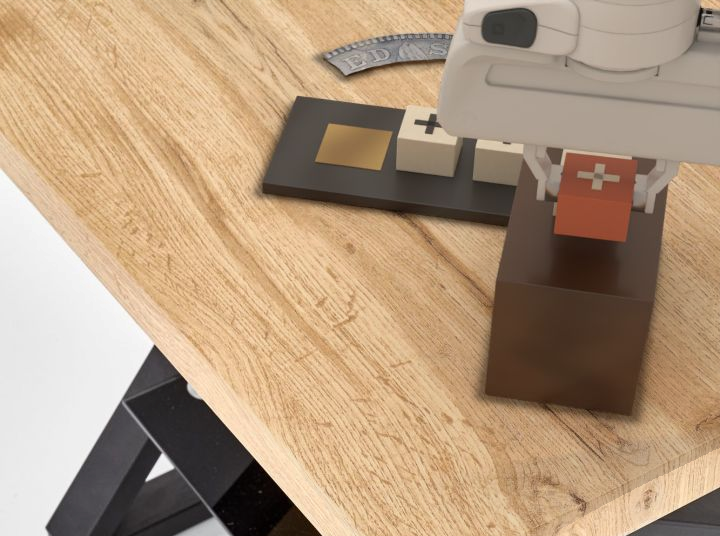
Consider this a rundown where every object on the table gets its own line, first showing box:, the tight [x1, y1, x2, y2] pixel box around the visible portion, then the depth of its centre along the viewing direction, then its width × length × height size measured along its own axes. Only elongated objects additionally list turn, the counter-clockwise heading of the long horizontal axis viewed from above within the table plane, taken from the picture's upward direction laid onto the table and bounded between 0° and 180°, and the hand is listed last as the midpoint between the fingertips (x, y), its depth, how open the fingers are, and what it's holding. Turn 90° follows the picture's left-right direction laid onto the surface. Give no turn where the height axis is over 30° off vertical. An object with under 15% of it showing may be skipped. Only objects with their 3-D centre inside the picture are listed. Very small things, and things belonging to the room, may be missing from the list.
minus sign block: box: [473, 139, 524, 186], centre depth 121 cm, size 4×4×3 cm
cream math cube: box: [396, 104, 463, 177], centre depth 122 cm, size 4×4×3 cm
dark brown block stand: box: [483, 147, 670, 417], centre depth 109 cm, size 10×19×10 cm, turn 169°
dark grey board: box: [261, 95, 517, 227], centre depth 123 cm, size 24×12×1 cm, turn 79°
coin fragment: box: [321, 32, 454, 76], centre depth 134 cm, size 13×5×1 cm, turn 103°
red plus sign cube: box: [554, 152, 638, 242], centre depth 99 cm, size 4×4×3 cm
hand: (594, 201), depth 99 cm, fingers closed on red plus sign cube, 4 cm apart
